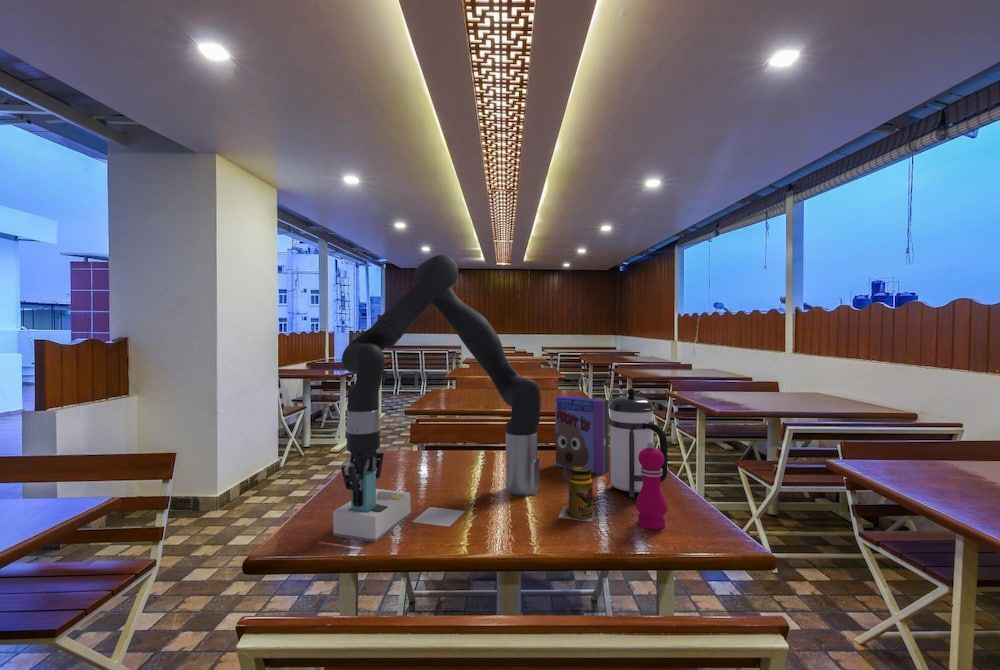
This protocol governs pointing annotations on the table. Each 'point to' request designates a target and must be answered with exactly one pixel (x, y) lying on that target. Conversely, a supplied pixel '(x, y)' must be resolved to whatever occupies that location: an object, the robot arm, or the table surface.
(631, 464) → the coffee press
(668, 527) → the table surface
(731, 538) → the table surface
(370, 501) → the plug
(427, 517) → the mat
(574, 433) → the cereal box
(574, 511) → the condiment
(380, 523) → the socket box
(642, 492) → the pepper mill
